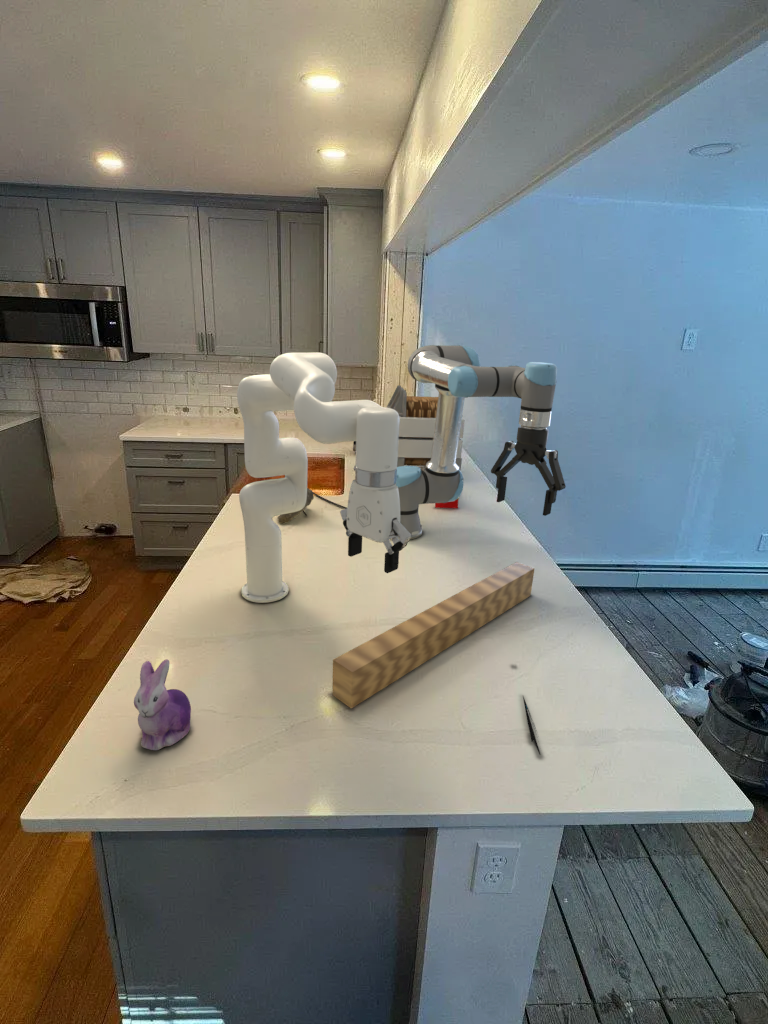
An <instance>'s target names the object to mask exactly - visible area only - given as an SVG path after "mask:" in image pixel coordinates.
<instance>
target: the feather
mask: <svg viewBox="0 0 768 1024" xmlns="http://www.w3.org/2000/svg"><path fill="white" fill-rule="evenodd" d="M513 666H514V667H515V666H516V665H515V664H514V665H513ZM522 699H523V706H524V711H525V717H526V722H527V726H528V732H529V737H530V739H531V741H530V742H531V743H533V742H534V746H535V747H536V750H537V752H538V754H539V755H541V752H540V749H539V745H538V742H537V741H538V740H537V739H536V738H537V737H536V736H538V731H537V728H536V725H535V722H534V720H533V717H532V716H531V713H530V709H529V707H528V704H527V702H526V698H525V697H524V696H522ZM534 731H535V732H534Z"/></svg>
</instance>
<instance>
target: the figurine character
mask: <svg viewBox="0 0 768 1024" xmlns="http://www.w3.org/2000/svg"><path fill="white" fill-rule="evenodd" d="M352 442H353V444H352V451H353V452H355V454H354V455H356V441H352Z"/></svg>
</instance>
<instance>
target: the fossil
mask: <svg viewBox="0 0 768 1024" xmlns="http://www.w3.org/2000/svg"><path fill="white" fill-rule="evenodd" d="M313 492H314V491H313V490H312V489H310V488H309V487H307V500H306V504H305V506H304V508H303V509H301V510H300V511H297V512H292V513H287V514H282V515H278V516H277V521H278V523H280V524H286V523H289V522H291V521H293V520H294V519H295V518H297V517H298V516H299V515H300V514H302V513H303V514H304V515H305V517H307V516H308V515H307V513H306V512H305V509H306V508H307V507H308V506H310V505H311V503H312V501H313V500H314V496H315V495H314V494H313Z"/></svg>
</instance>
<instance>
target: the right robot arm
mask: <svg viewBox="0 0 768 1024" xmlns="http://www.w3.org/2000/svg"><path fill="white" fill-rule="evenodd" d="M407 371H408V373H409V375H410V377H411V378H412V379H413V380H414V381H417V382H419V383H421V384H434V388H435V389H436V391H437V392H438V396H437V397H438V404H437V412H436V421H435V429H434V437H433V445H432V453H431V460H430V461H428V462H427V463H426V466H424V467H425V468H424V470H422V469H421V467H420V466H407V465H404V466H400V467H397V478H396V486H397V487H398V491H399V499H400V523H401V524H402V525H403V526H404V527H405V528H406V529H407V531H408V532H409V533H410V534H411V538H410V540H415V539H418V538H420V537H421V536H422V535H423V525H422V524H421V518H420V515H419V507H420V505H425V504H426V505H428V504H435V503H447V502H453V501H455V500H457V499H458V498H460V497H461V495H462V492H463V490H464V476H463V473H462V470H461V471H460V470H459V467H458V465H457V464H456V463H455V462H456V455H457V448H458V441H459V434H460V427H461V420H462V419H463V414H464V413H463V411H464V404H465V398H477V397H478V398H517V399H521V402H520V409H519V417H518V424H519V426H518V427H517V431H516V432H517V433H516V443H515V442H514V440H509V441H505V442H504V446H503V450H502V451H501V453H500V455H499V456H498V458H497V459H496V461H495V463H494V464H493V465H492V467H491V469H490V473H491V474H492V475H495V476H496V482H495V489H497V496H496V503H502V502H504V501H505V499H506V490H507V484H508V483H507V482H508V476H506V475H507V474H508V473H509V472H510V471H511V470H512V469H514V467H516V466H517V464H519V463H522V464H527V465H529V466H530V465H531V466H535V468H536V469H537V470H538V471H539V473H540V475H541V477H542V479H543V480H544V483H545V484H546V486H547V488H548V489H547V490H545V495H544V502H543V510H542V516H543V517H546V516H548V515H550V514H551V513H552V507H553V504H555V503H556V500H557V496H558V492H560V491H562V490H564V489H566V487H567V486H566V482H565V479H564V476H563V473H562V468H561V465H560V462H559V451H558V450H557V449H554V450H551V449H550V450H547V449H548V448H547V444H548V441H549V433H550V429H548V428H549V427H551V419H552V410H553V404H554V399H555V398H554V397H555V392H556V385H557V373H558V367H557V365H556V364H555V363H551V362H541V361H530V362H527V363H526V365H525V367H521V366H520V365H519V366H518V365H505V366H481V360H480V357H479V354H478V352H477V351H476V349H475V348H474V347H471V346H466V345H465V346H464V345H444V344H443V345H441V344H440V345H436V344H429V345H424V346H421V347H418V348H417V349H415V350H414V351H413V352H412V353H411V354H410V356H409V357H408V360H407ZM513 451H515V453H516V454H515V455H514V456H513V457H512V458H511V460H509V461H508V462H507V463H506V461H507V460H508V458H509V457H510V455H511V454H512V452H513ZM545 457H546V459H547V460H548V464H547V461H546V459H545ZM505 463H506V464H505ZM548 465H549V466H548ZM549 467H550V469H549ZM312 492H313V496H316V497H317V498H319V499H322V500H323V501H325V502H327V503H330V504H332V505H334V506H337V507H338V508H341V509H343V510H344V509H347V507H348V506H344V505H341V504H339V503H336V502H333V501H332V500H329V499H327V498H325V497H322V496H321V495H320V494H318V493H315V492H314V491H312ZM458 500H459V499H458ZM398 539H400V536H399V535H398ZM410 540H409V541H410Z"/></svg>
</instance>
